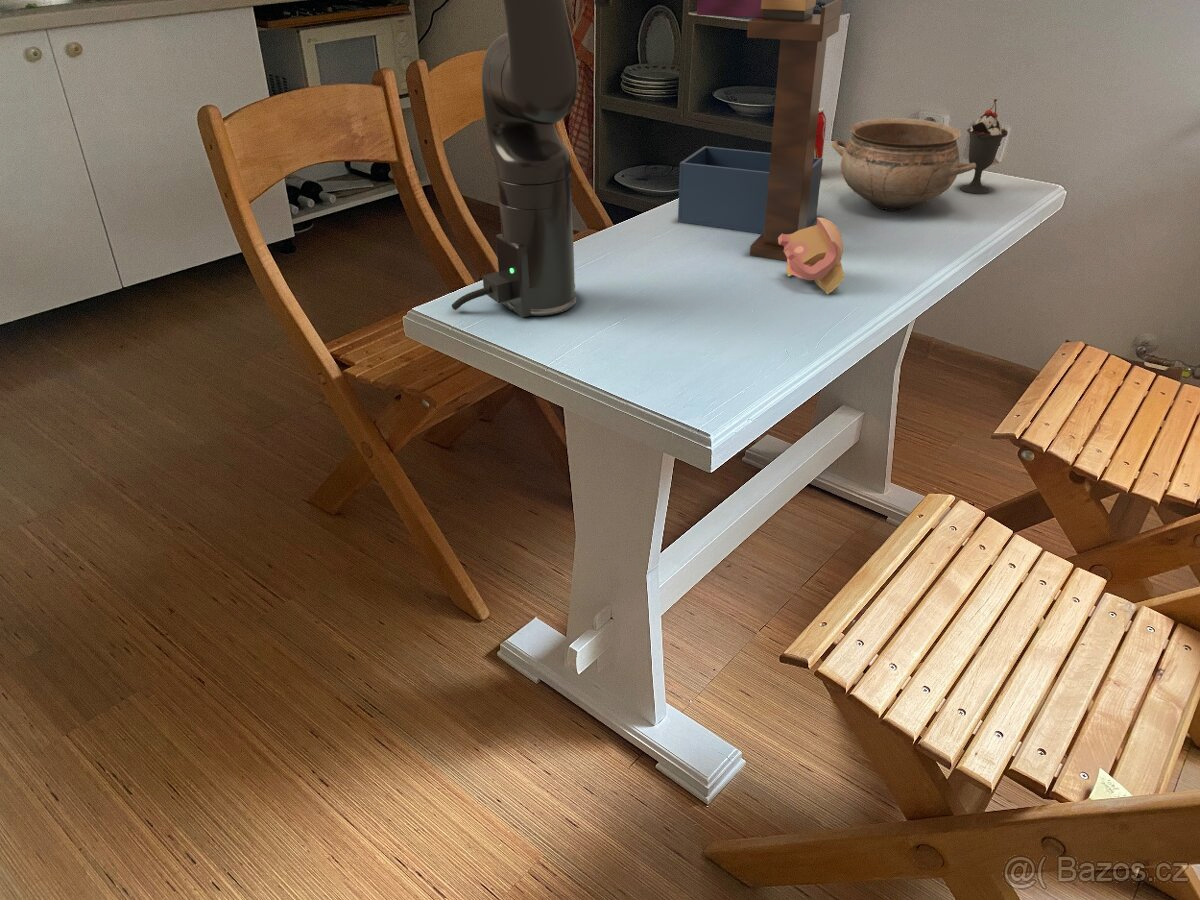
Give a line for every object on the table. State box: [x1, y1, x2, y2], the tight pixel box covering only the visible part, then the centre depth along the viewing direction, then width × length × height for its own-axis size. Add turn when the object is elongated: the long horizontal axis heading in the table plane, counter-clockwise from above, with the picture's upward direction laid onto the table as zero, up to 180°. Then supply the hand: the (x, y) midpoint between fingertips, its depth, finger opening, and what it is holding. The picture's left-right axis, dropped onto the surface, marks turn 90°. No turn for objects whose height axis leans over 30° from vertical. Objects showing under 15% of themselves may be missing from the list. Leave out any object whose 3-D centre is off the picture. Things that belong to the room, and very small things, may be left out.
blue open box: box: [677, 145, 824, 235], centre depth 145 cm, size 20×11×10 cm, turn 64°
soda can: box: [814, 105, 827, 158], centre depth 165 cm, size 7×7×12 cm
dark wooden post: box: [746, 0, 843, 262], centre depth 127 cm, size 10×9×34 cm
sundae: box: [959, 98, 1009, 195], centre depth 155 cm, size 7×7×15 cm
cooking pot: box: [831, 117, 976, 212], centre depth 150 cm, size 25×19×12 cm
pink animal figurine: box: [778, 217, 845, 295], centre depth 123 cm, size 9×10×10 cm
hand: (614, 2), depth 124 cm, fingers open, 8 cm apart
